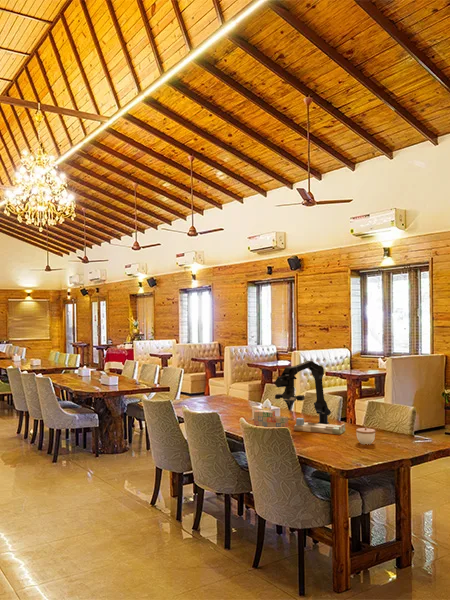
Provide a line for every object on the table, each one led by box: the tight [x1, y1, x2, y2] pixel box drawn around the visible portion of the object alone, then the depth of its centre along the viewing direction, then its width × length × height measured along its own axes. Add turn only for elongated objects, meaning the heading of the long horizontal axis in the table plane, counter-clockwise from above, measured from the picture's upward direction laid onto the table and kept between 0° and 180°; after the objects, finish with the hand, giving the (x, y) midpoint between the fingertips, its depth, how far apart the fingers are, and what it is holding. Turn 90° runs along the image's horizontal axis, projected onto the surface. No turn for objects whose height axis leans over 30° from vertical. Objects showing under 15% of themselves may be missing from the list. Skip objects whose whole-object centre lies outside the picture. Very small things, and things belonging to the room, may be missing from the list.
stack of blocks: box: [253, 409, 289, 428], centre depth 357 cm, size 21×6×12 cm, turn 65°
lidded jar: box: [355, 426, 376, 446], centre depth 321 cm, size 11×11×9 cm
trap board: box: [293, 421, 346, 435], centre depth 358 cm, size 13×30×4 cm, turn 65°
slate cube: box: [295, 417, 305, 426], centre depth 360 cm, size 4×4×4 cm
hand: (289, 410), depth 363 cm, fingers closed
